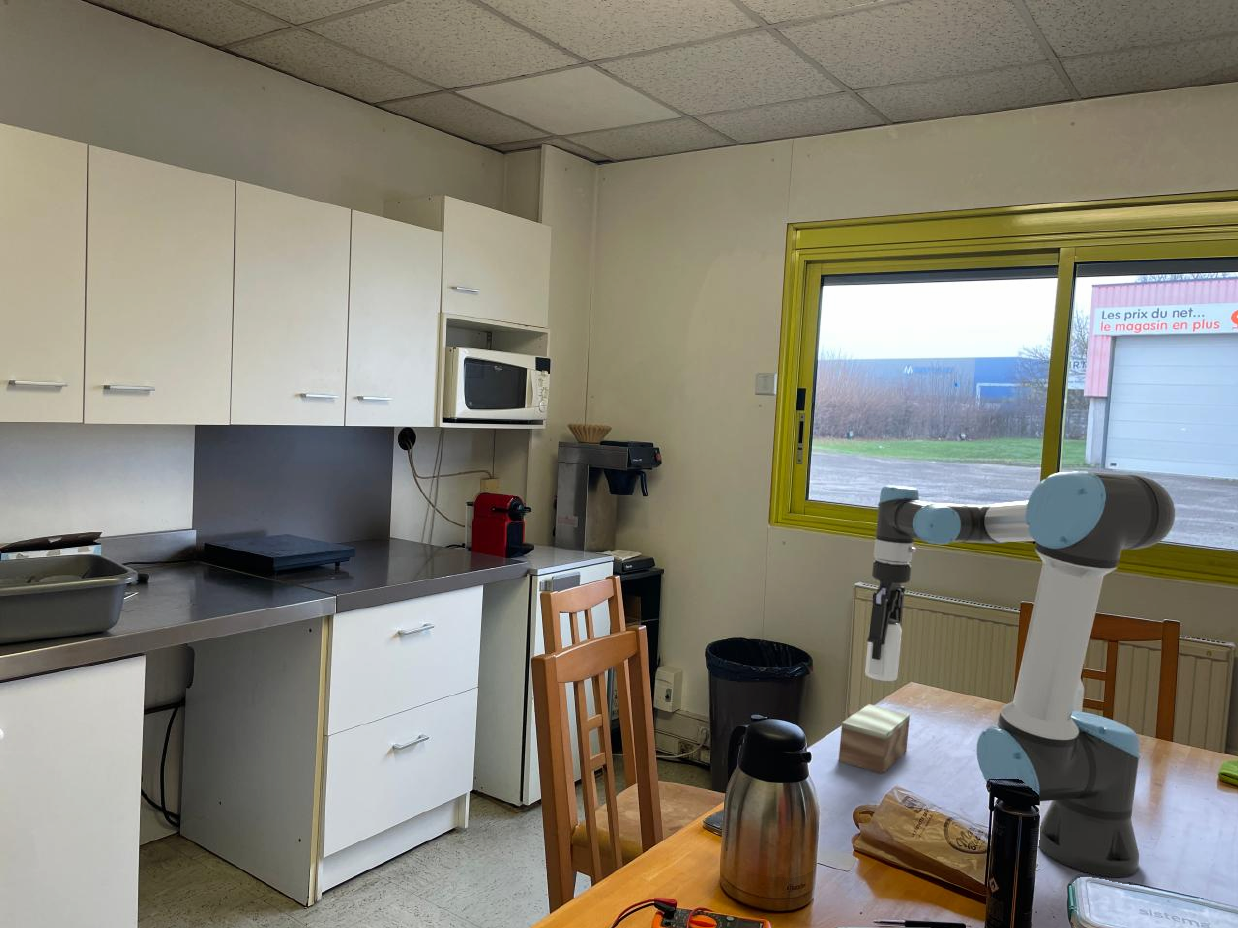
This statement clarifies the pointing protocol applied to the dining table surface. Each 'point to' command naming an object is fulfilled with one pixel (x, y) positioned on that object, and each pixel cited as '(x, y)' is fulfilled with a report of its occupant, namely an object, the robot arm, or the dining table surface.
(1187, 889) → the dining table surface
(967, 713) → the dining table surface
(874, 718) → the stand
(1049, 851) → the robot arm
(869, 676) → the can
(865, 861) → the dining table surface
